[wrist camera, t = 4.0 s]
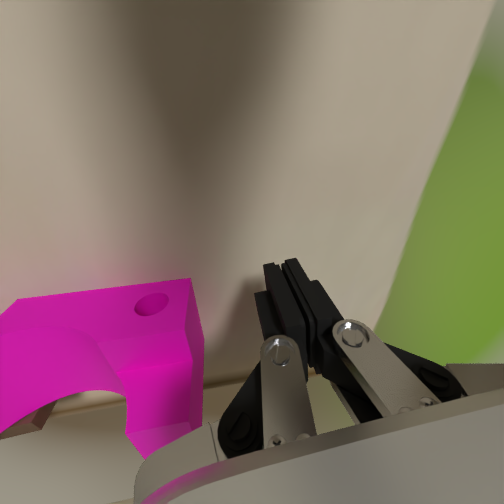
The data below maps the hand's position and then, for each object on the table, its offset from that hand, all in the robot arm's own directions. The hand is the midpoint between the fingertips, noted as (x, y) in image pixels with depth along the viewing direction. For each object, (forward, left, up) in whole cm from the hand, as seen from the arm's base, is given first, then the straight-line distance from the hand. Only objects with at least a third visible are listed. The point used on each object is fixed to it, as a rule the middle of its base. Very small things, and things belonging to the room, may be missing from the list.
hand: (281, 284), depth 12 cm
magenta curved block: (+3, -13, -4) cm, 14 cm away
